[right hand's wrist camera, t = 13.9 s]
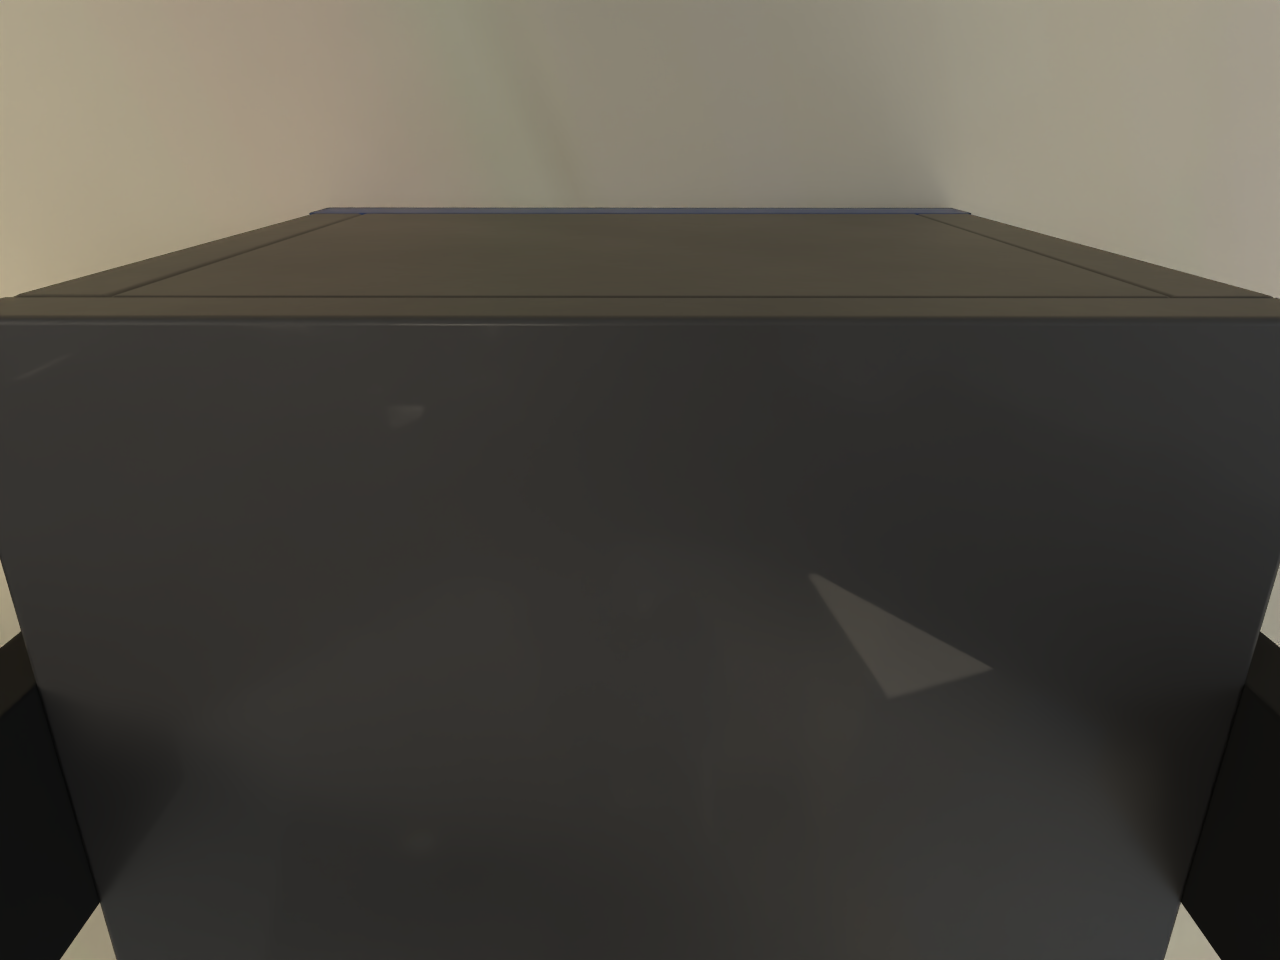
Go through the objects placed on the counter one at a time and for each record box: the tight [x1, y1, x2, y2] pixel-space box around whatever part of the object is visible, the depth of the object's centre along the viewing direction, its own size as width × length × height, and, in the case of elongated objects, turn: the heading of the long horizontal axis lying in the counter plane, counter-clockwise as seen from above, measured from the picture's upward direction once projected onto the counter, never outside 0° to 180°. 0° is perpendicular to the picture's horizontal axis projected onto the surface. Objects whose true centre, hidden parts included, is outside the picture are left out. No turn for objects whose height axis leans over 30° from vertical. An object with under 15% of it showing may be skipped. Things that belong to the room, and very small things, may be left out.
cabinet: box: [0, 208, 1280, 960], centre depth 15 cm, size 18×11×10 cm, turn 0°
